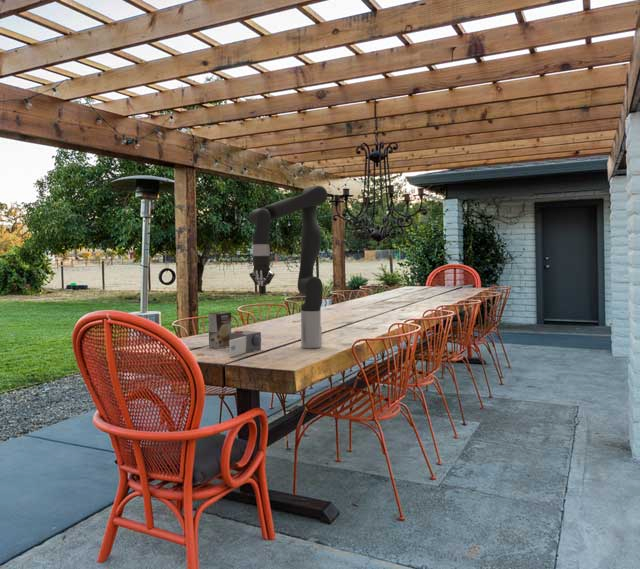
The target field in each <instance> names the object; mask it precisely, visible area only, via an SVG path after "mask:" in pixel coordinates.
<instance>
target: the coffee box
mask: <svg viewBox="0 0 640 569" xmlns="http://www.w3.org/2000/svg"><path fill="white" fill-rule="evenodd" d="M230 333H232V312H228V311H227V312H226V311H225V312H224V311H222V312H211V313H210V312H209V313H208V347H209V348H215V349H220V348H221V349H222V348H226V346H227V347H229V340H230Z"/></svg>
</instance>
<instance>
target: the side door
mask: <svg viewBox="0 0 640 569" xmlns="http://www.w3.org/2000/svg"><path fill="white" fill-rule="evenodd" d="M228 347H229V358H232V357H235V356H240V355H243V354H245V353H248V352H247V336H244V337H240V338H237V339H233V340H229V346H228Z"/></svg>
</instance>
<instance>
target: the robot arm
mask: <svg viewBox="0 0 640 569" xmlns="http://www.w3.org/2000/svg"><path fill="white" fill-rule="evenodd" d="M327 200H328V191H327V189H326V188H325V187H324V186H322V185H311V186H310V185H309V186H307V187H305V188H304V189H303V191H302V193H301V194H299V195H296V196H292V197H288V198H285V199H281V200H279V201H276V202H274V203H271V204H268V205H266V206H263V207H258V208H255V209H253V210H252V211H251V212H250V213H249V217H248V220H249V222H250V224H252V225H253V226H256V227H255V228H256V229H255V231H253V233H252V266H253V268H252V270H253V271H252V272H250V273H249V274H248V275H249V277H250V278H251V280H252V281H253V284H255V285H258V293H259V295H262V296H263V295H266V293H267V285H270V283H271V281H272V280H273V278H274V277H275V273H274V272H272V271H271V268H270V266H271V249H270V238H269V235H270V234H269V233H270V230H271V225H272V220H277V219H281V218H283V217H286V216H289V215H291V214H293V213H295V212H298V211H300V210H302V219H301V220H302V223H301V227H302V228H301V245H300V263H299V271H298V272H299V273H298V278H297V290H298V293H299V294H301V295H302V296H305V299H304V300H305V301H304V302H303V303H302V304H301V305H300V339H301V340H300V346H301V348H302V349H319V348H321V347H322V346H323V343H322V340H323V339H322V333H323V332H322V329H323V328H322V326H321V315H322V314H321V308H322V304H323V292H324V291H323V289H324V288H323V283H322V279H320V278H319V277H318V276H314V267H315V263H316V260H317V258H318V256H319V255H320V252H321V246H322V232H321V228H320V225H319V223H318V219H317V207H318V206H321V205H323V204H324V203H325V202H326V201H327Z"/></svg>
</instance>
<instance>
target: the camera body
mask: <svg viewBox="0 0 640 569" xmlns="http://www.w3.org/2000/svg"><path fill="white" fill-rule="evenodd" d="M261 334H262V332H261V331H252V330H235V331H234V330H233V332H231V333H230V340H233V339H237V338H240V337H244V336H247V352H246V353H250V352H249V351H251V352H254V351H253V350H256V351H259V350H258V349H260V350H262V335H261Z"/></svg>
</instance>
